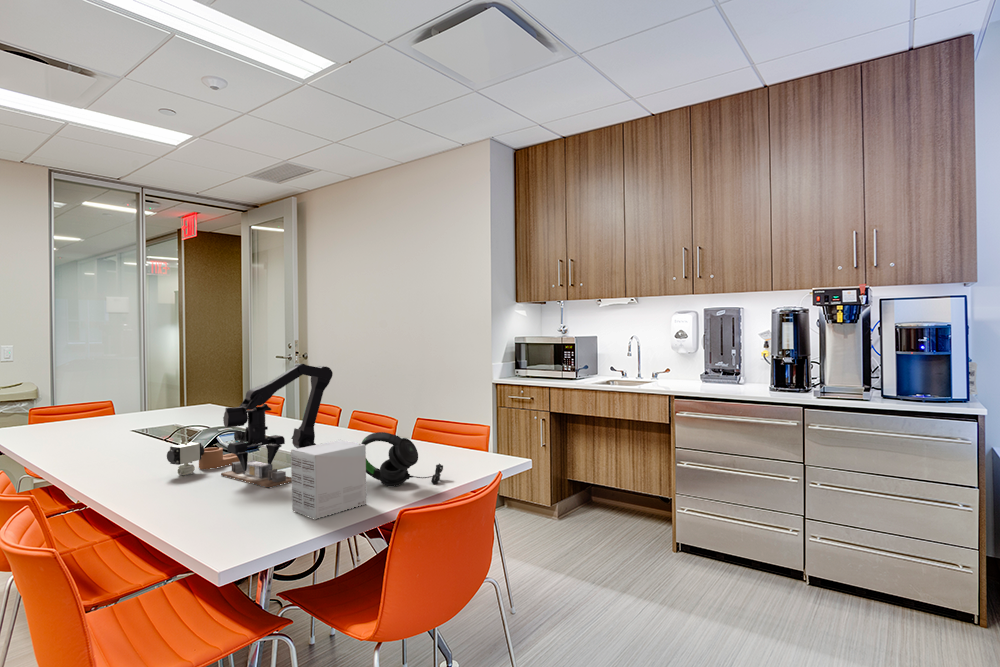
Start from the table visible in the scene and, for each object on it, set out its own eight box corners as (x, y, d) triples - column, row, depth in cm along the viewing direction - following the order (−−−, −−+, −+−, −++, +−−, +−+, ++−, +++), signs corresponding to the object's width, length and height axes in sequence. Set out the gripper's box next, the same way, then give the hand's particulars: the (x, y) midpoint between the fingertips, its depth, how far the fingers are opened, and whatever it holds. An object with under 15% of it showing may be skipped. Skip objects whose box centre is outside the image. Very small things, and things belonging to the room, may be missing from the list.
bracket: (207, 470, 206) (207, 452, 206) (194, 468, 210) (193, 450, 210) (249, 460, 222) (249, 443, 222) (236, 458, 226) (236, 442, 226)
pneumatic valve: (205, 471, 205) (204, 439, 205) (175, 479, 194) (174, 445, 194) (195, 469, 207) (194, 438, 207) (165, 477, 196) (164, 444, 196)
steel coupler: (272, 476, 191) (272, 464, 191) (261, 478, 188) (261, 466, 188) (253, 471, 198) (253, 460, 198) (242, 474, 195) (242, 462, 195)
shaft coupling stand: (295, 481, 189) (295, 469, 189) (268, 488, 180) (268, 475, 180) (247, 469, 206) (247, 458, 206) (221, 475, 198) (220, 464, 198)
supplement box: (341, 496, 170) (340, 439, 170) (367, 504, 162) (367, 444, 162) (290, 511, 157) (289, 448, 157) (315, 520, 148) (314, 454, 148)
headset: (424, 509, 183) (346, 472, 181) (434, 482, 195) (361, 446, 193) (445, 474, 175) (363, 434, 173) (454, 448, 187) (378, 410, 185)
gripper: (267, 418, 205) (268, 460, 205) (218, 426, 190) (219, 470, 190) (285, 421, 199) (286, 463, 199) (236, 429, 184) (236, 475, 184)
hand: (257, 468), depth 193 cm, fingers open, 9 cm apart
